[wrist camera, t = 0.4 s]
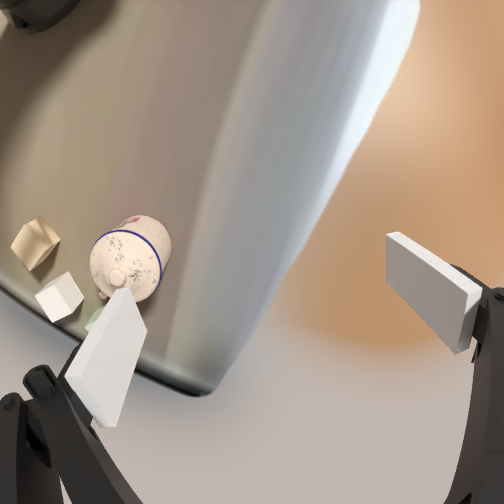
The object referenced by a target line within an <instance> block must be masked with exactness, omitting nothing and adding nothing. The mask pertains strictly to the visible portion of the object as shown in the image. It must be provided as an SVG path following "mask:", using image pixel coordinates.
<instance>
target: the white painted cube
mask: <svg viewBox="0 0 504 504" xmlns="http://www.w3.org/2000/svg"><path fill="white" fill-rule="evenodd" d="M35 297H36V299H37V300H38V302H39V303H40V305H41V307H42V308H43V310H44V311H45V313H46V314H47V316H48V317H49V319H50V320H51V322H54V321H57V320H59V319H61V318H63V317H65V316H67V315H69V314H71V313H73V311H74V310H75V309H76V308H77V306H78V305H79V304H80V303H81V301H82V300H83V299H84V296H83V295H82V293H81V292H80V290H79V288H78V287H77V285H76V283H75V282H74V280H73V278H72V277H71V275H70V273H69V272H66V273H65V274H63V275H61V276H59V277H58V278H56V279H54V280H53V281H51V282H49V283H48V284H47V285H46V286H45V287H44V288H43V289H42V290H41V291H40V292H38V293H37V294H36V295H35Z"/></svg>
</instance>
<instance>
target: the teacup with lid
mask: <svg viewBox="0 0 504 504" xmlns="http://www.w3.org/2000/svg"><path fill="white" fill-rule="evenodd" d="M170 254H171V240H170V237H169V234H168V232H167V231H166V229H165V228H164V227H163V225H162V224H161V223H159V222H158V221H157V220H155V219H153V218H151V217H148V216H142V215H138V216H132V217H130V218H127V219H126V220H124V221H123V222H122V223H120V224H119V225H118V226H117V227H115V228H114V229H113V230H112V231H110V232H108V233H106V234H104V235H103V236H101V237H100V238H99V239H98V240H97V241H96V243H95V244H94V246H93V248H92V251H91V255H90V270H91V274H92V277H93V279H94V281H95V283H96V285H97V286H98V287H99V289H100V291H99V294H98V295H99V297H101V298H102V299H106V298H107V297H110V298H111V297H112V295H113V294H114V292H115V291H116V289H120V288H125V287H130V289H131V292H132V295H133V297H134V300H135V302H139V301H142V300H144V299H146V298H148V297H149V296H151V295H152V294H153V293H154V292H155V290H156V289H157V287H158V286H159V283H160V280H161V275H162V272H163V270H164V268H165V266H166V264H167V262H168V260H169V257H170Z"/></svg>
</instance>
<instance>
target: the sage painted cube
mask: <svg viewBox="0 0 504 504" xmlns="http://www.w3.org/2000/svg"><path fill="white" fill-rule="evenodd" d="M106 305H107V304H106ZM106 305H105V306H106ZM105 306H103V307H101V308H99V309H98V310H96V311H95V312H94V314H93V315H92V317H91V318H90V320H89V321H88V323H87V324H86V326H85V328H86V329H87V331H88V332H90V330H91V329H92V327H93V326H94V324H95V322H96V321H97V319H98V317H99V316H100V314H101V313H102V311H103V309H104V308H105Z"/></svg>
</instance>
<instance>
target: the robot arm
mask: <svg viewBox="0 0 504 504" xmlns="http://www.w3.org/2000/svg"><path fill="white" fill-rule="evenodd" d="M78 2H79V0H0V10H1V11H2V12H3V14H4V15H5V17H6V18H7V20H8V21H9V22H10V24H11V25H12V26H13V27H14V28H15V29H17V30H20V31H22V32H25V33H36V32H40V31H43V30H45V29H47V28H49V27H51V26H52V25H54V24H56V23H57V22H58V21H60V20H61V19H62V18H63V17H65V16H66V15H67V14H68V13H69V12H70V11H71V10H72V9H73V8H74V7H75V5H76V4H77V3H78ZM386 282H387V283H388V284H389V285H390V286H391V287H392V288H393V289H394V290H395V291H396V292H397V293H398V294H399V295H400V296H401V297H402V298H403V299H404V300H405V301H406V302H407V303H408V305H410V307H411V308H412V309H413V310H414V311H415V312H416V313H417V314H418V315H419V316H420V317H421V318H422V319H423V320H424V321H425V322H426V323H427V324H428V325H429V327H430V328H431V329H432V330H433V331H434V332H435V333H436V334H437V335H438V336H439V337H440V338H441V340H442V341H443V342H444V343H445V344H446V345H447V346H448V347H449V348H450V349H451V351H452V352H453V353H454V354H455V355H456V354H458V353H460V352H462V351H464V350H466V349H468V348H469V346H470V342H471V339H472V336H473V337H474V338H475V339H476V340H477V345H476V348H475V352H474V355H473V358H472V361H471V362H472V363H474V360H475V363H474V364H475V365H474V375H473V385H472V394H471V401H470V407H469V414H468V420H467V425H466V430H465V435H464V440H463V445H462V449H461V453H460V457H459V461H458V465H457V469H456V473H455V476H454V479H453V483H452V486H451V489H450V492H449V495H448V497H447V499H446V500H445V502H444V504H504V288H494V289H490V288H489V287H487V286H486V285H485V284H483V283H482V282H481V281H479V280H478V279H476V278H474V277H473V276H472V275H471V274H468V272H466V271H465V270H463V269H462V268H460V267H457V266H455V265H452V264H450V265H449V264H448V263H446V262H445V261H443V260H442V259H440V258H439V257H437V256H436V255H434V254H433V253H431V252H430V251H428V250H426V249H425V248H423V247H422V246H420V245H419V244H417V243H415V242H414V241H412V240H411V239H409V238H408V237H406V236H405V235H403V234H401V233H400V232H394V233H389V234H386ZM146 334H147V330H146V327H145V325H144V322H143V320H142V317H141V315H140V312H139V310H138V307H137V305H136V302H135V300H134V297H133V295H132V292H131V289H130V287H125V288H120V289H116V291H115V292H114V294H113V295H112V297H111V298H110V300H109V302H108V303H107V305H106V306H105V308H104V309H103V311H102V313H101V314H100V316H99V317H98V319H97V321H96V322H95V324H94V326H93V327H92V329H91V330H90V332H89V334H88V335H87V337H86V339H85V341H83V342H81V343H80V344H79V345H78V346H77V347H75V348H74V350H73V351H72V353H71V355H70V358H68V360H67V362H66V364H65V365H64V367H63V369H62V370H61V372H60V374H59V376H58V378H56V376H55V375H54V373H53V372H52V370H51V369H50V367H49V366H48V365H39V366H36V367H34V368H33V369H31V370H30V371H29V372H28V373H27V374H26V375H25V377H24V379H23V384H24V386H25V387H26V389H27V390H28V391H29V393H30V394H31V396H32V397H33V399H31V400H27V401H24V400H23V399H22V398H21V396H20V395H19V394H18V393H15V392H14V393H9V394H7V395H5V396H4V397H3V398H2V399H1V400H0V504H64V503H63V496H62V491H61V484H60V478H61V480H62V482H63V485H64V487H65V489H66V492H67V494H68V496H69V498H70V500H71V502H72V504H143V503H142V502H141V500H140V499H139V498H138V496H137V495H136V494H135V493H134V491H133V490H132V488H131V487H130V485H129V484H128V483H127V481H126V480H125V479H124V477H123V475H122V474H121V473H120V471H119V470H118V468H117V467H116V465H115V464H114V462H113V460H112V459H111V457H110V456H109V454H108V453H107V451H106V449H105V448H104V446H103V444H102V443H101V441H100V439H99V437H98V436H97V434H96V432H95V430H94V429H93V428H92V427H91V425H90V424H91V421H92V418H93V419H94V420H95V421H96V423H97V424H98V425H99V426H100V427H117V424H118V420H119V417H120V413H121V410H122V407H123V403H124V400H125V397H126V394H127V391H128V387H129V384H130V381H131V378H132V375H133V372H134V369H135V366H136V363H137V360H138V357H139V354H140V351H141V348H142V345H143V342H144V340H145V337H146ZM59 476H60V478H59Z"/></svg>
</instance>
